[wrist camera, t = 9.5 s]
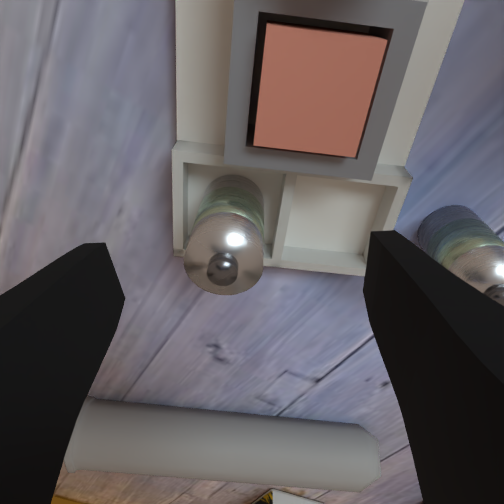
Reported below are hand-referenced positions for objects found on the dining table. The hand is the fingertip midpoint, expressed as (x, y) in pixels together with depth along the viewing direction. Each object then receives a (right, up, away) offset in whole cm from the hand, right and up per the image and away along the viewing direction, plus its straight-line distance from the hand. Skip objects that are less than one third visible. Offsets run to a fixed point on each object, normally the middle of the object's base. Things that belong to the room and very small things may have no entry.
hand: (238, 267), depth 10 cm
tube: (-1, -14, +22) cm, 26 cm away
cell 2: (+11, +2, +10) cm, 15 cm away
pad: (+3, +7, +5) cm, 9 cm away
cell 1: (-1, +3, +9) cm, 9 cm away
